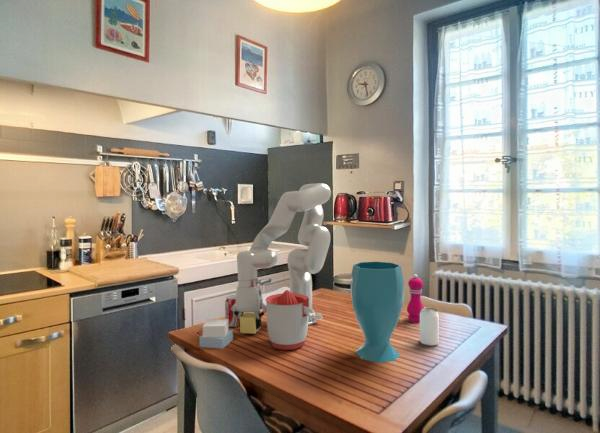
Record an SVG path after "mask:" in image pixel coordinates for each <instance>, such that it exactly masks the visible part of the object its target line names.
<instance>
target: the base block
mask: <svg viewBox="0 0 600 433" xmlns="http://www.w3.org/2000/svg"><path fill="white" fill-rule="evenodd" d="M233 340H234V330H233V329H229V330H228V332H227V334H226V336H225V337H203V334H202V335H200V336H199V347H200V348H208V349H210V348H211V349H221V350H223V349H224V348H225V347H226V346H227V345H229V344H230V343H231V342H232V341H233Z"/></svg>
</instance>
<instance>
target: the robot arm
mask: <svg viewBox="0 0 600 433" xmlns="http://www.w3.org/2000/svg"><path fill="white" fill-rule="evenodd" d="M331 196H332V190H331V188H330V186H329V185H328V184H327V183H322V182H319V183H308V184H307V183H306V184H303V185H302V186H301V187H300V188H299V190H293V191H286V192H284V193H283V194H282V195H281V196H280V199H279V201H278V202H277V205H276V207H275V209H274V211H273V213H272V215H271V217H270V220H269V221H268V223H267V224H266V225H265V226H264V227H262V229H261V230H260V231H259V233H257V235H256V237H255V238H254V240H253V241H252V243H251V246H250V248H249V250H243V251H239V252H238V253H237V255H236V263H237V264H236V265H237V267H236V268H237V287H236V291H235V295H236V303H235V304H234V305H233V306H232V307H231V310H232V311H233V312H234V314H235V315H236V316H237V317H238V319H239V326H238V327H240V317H241V316H242V315H243V314H245V313H255V315H256V317H257V319H256V329H259V328H260V329H261V327H262V317H264V315H265V314H267V307H266V305H265V303H264V299H263V293H262V288H261V285H259V284H261V283H262V281H261V279H259V278H258V269H270V268H273V267H274V266H275V265H276V264H277V262H278V256H277V254H276V252H275V251H274V250H271V249H269V247H270V246H271V244H272V242H273V241H275V240H276V239H277V238H279V237H281V236H283V235H284V234H285V233H287V232H288V230H289V229H290V227H291V224H292V222H293V220H294V218H295V215H296V213H297V212H299V213H304V214H303V218H302V222H301V225H300V227H299V228H300V229H299V231H298V234H297V240H298V243H299V244H300V245H301V246H303V247H307V248H299V247H298V248H294V249H292V250H291V251H290V252H289V253H288V256H287V267H288V274H289V291H290V292H291V293H296V294H302V295H305V296H307V297H308V298H309V308H311V309H312V310H313V315H312V316H309V315H308V326H311V325H314V324H315V323H316V322H317V320H323V314H321V313H319V312H318V313H316V312H315V309H313V278H312V274H313V275H315V274H317V273H320V271H321V270H322V269H323V267H324V264H325V261H326V258H327V255H328V251H329V247H330V244H331V233H330V231H329V229H328V228H327V227H325V226H324V225H323V221H324V209H323V206H322V205H324V204H325V203H327V202H328V201H329V200H330V199H331ZM260 329H259V330H260Z"/></svg>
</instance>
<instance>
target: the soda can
mask: <svg viewBox="0 0 600 433" xmlns="http://www.w3.org/2000/svg"><path fill="white" fill-rule="evenodd" d="M224 302H225V304H224V305H225V306H224V311H225V313H224V314H225V318H224V319H229V328H236V327H240V326H239V319H238V317H237V316H236V315H235V314H234V312H233V311H232V310H231V307H232V306H233V305H234V304H235V303H236V294H234V295H232V294H231V295H228V296H227V297H226V299H225V301H224Z"/></svg>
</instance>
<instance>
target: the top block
mask: <svg viewBox="0 0 600 433" xmlns="http://www.w3.org/2000/svg"><path fill="white" fill-rule="evenodd" d="M228 330H230V327H229V319H226V318H218V319H217V318H214V319H213V318H210V319H209V318H206V321H205V322H204V323H203V325H202V335H203V337H225V336H226V334H227V332H228Z"/></svg>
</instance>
